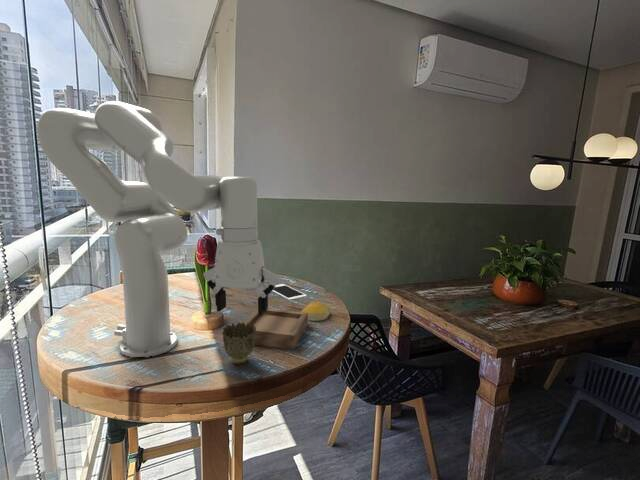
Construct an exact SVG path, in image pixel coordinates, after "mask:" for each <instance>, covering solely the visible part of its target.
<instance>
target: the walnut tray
mask: <svg viewBox="0 0 640 480" xmlns="http://www.w3.org/2000/svg"><path fill="white" fill-rule="evenodd" d="M242 323H245V326H246V324H247V323H249V325H250V326H251V325H252V324H253V325H254V326H255V327H256V334H255V342H254V346H262V347H271V348H278V349H285V350H293V351H294V350H295V349H296V347H297V346H298V345H297V344H298V343H299V341H300V340H301V338H302V336H303V335H304V332H305V331H306V329H307V327H308V325H309V324H308V323H309V320H308V313H304V312H301V311H296V310H295V311H294V310H287V309H286V310H285V309H277V308H269V307H268V309H267V310H266V311H265V312H264V313H263V314H262V315H259V314H258V308H256V309H255V310H254V312H252V313H251V314H249V316H248V317H247V318H246V319H245V320H244V321H243V322H242Z"/></svg>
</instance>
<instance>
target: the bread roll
mask: <svg viewBox="0 0 640 480" xmlns="http://www.w3.org/2000/svg"><path fill="white" fill-rule="evenodd" d="M300 312H304V313H308V321H311V322H312V321H313V322H316V321H317V322H320V321H324V320H326V319H328V317H329V316H330V308H329V307H328V306H327V305H326V304H325V303H324V302H320V301H312V302H310V303H308V304H307V305H306V306H305V307H304V308H302V309H301V311H300Z"/></svg>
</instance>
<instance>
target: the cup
mask: <svg viewBox="0 0 640 480" xmlns="http://www.w3.org/2000/svg"><path fill="white" fill-rule="evenodd" d="M222 330H223V331H222V338H223V344H224V350H225V352H226V354H227V356H229V357H230V361H231V362H232V363H233V364H235V365H243V364H245V363H247V361H248V359H249V355H250V354H252V352H253V349H254V347H255V345H254V342H255V334H256V327H255V326H254V325H253V324H252V325H251V326H250V325H249V323H247V324H246V326H245V323H243V322H241V323H240V322H237V324H234V323H232V324H230V325H229V324H227V325H226V326H225V327H222Z"/></svg>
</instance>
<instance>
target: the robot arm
mask: <svg viewBox="0 0 640 480" xmlns="http://www.w3.org/2000/svg"><path fill="white" fill-rule="evenodd" d="M94 111H95V112H94V113H93V112H92V113H91V112H88V111H82V110H78V109H73V108H68V107H67V108H64V107H58V108H52V109H48V110H45V111H44V112H43V113H41V115H40V117H39V118H38V121H37V124H36V125H37V126H36V128H37V129H36V130H37V137H38V142H39V144H40V147H41V149H42V151H43V153H44V155H45V157H46V158H47V159H48V160H49V162H50V163H51V164H52V165H53V166H54V167H55V168H56V169H57V170H58V171H59V172H60V173H61V174H62V175H63V176H64V177H66V178H65V179H68V180H69V182H70V183H71V184H72V185H73V186H74V188H75V189H76V191H78V193H79V194H80V195H81V196H82V197H83V199H84V200H85V201H86V203H87V204H89V206H90V207H91V208H92V209H93V210H94V212H95V213H96V214H97V215H98V216H99V217H100V218H101V219H103V220H104V221H105V222H108V223H121V224H120V225H119V226H118V227H117V229H116V230H115V233H114V245H115V248H116V252H117V254H118V258H119V262H120V263H119V264H120V266H121V267H120V268H121V277H122V287H123V288H122V290H123V302H124V319H125V324H122V323H120V324H118V325H117V328H116V330H114V332H113V334H114V336H117V337H122V341H121V342H120V344H119V352H120V353H122V354H121V355H123V354H124V355H126V356H125V357H127V356H130V357H129V358H132V357H145V358H151V357H150V356H152V357H156V356H159V355H162V354H164V353H167V352H168V351H170V350H172V349H173V348H174V347H176V345H177V344H178V336H177V334H176V333H174V332H173V331H171V323H170V322H171V319H170V295H169V276H168V275H169V274H168V270H167V268H166V265H165V263H164V262H163V260H162V257H161V255H163V254H165V253H166V254H167V253H169V252H172V251H175V250H178V249H180V248H181V247H182V246H184V245H185V243H186V242H187V240H188V229H187V225H186V224H185V223H186V222H184V220H183V218H182V217H181V216H180V214H179V213H178V212H177V211H176V210H175V209H174V208H176V209H178V210H179V211H182V212H186V213H198V212H199V213H200V212H205V211H212V210H213V211H214V210H220V225H221V226H220V228H216V230H215V233H216V236H220V239H221V240H219V241H217V245H216V249H215V250H216V251H215V257H214V259H215V260H214V262H215V263H214V267H213V268H210V269H208V270H206V271H204V272H203V277H204V279H205V281H206V284H207V285H208V287H209V288H210V289H211V290H212V294H214V301H215V306H216V311H217V312H221V311H222V310H224V309H225V308H227V291H226V289H234V290H247V291H248V290H249V291H253V290H255V291H256V293H257V294H258V295H259V297H258V298H257V309H258V314H259V315H262V314H263V313H264V312H265V311H266V310H267V309H268V308H269V297H268V296H269V294H270V293H271V292H273V291H272V290H273V289H274V288H275V287H276V285H278V283H279V281H280V276H279V275H277V274H276V273H274V272H272V271H271V270H269V269H268V268H266V267H265V259H264V252H263V251H264V250H263V248H262V243H261V241H260V240H259V239H258V237H259V236H258V235H259V233H258V188H257V187H258V185H257V181H256V179H255V178H254V177H251V176H238V175H237V176H220V175H213V174H197V173H195V174H191V173H190V172H188V171H187V170H185V169H184V168H183V167H182V166H180V165H179V164H178V163H177V162H175V161H174V159H172V155H173V153H174V143H173V141H172V139H171V138H170V137H169V136H168V135H166V134H165V133H164V132H162V124H161V121H160V120H159V118H158V117H157V115H155V113H153V112H152V111H151V110H149V109H146V108H143V107H140V106H137V105H133V104H129V103H126V102H123V101H116V100H111V101H109V100H108V101H105V102H104V103H102V104H99V106H97V108H96V109H95V110H94ZM91 151H101V152H118V151H123V152H124V153H126V155H128V156H129V157H130V158H132V159H133V160H134V161H135V162H137V163H138V164H139V165H141V167H142V168H141V169H142V172H143V175H144V177H145V180H146V182H147V183H146V182H142V181H126V180H123V179H121V178H120V177H119V176H118V175H117V174H116V173H115V172H114V171H113V170H112V169H111V167H110V165H108V164H107V163H106V162H105V161H104V160H103V159H101V158H100V157H98V156H97V155H96V154H94V153H93V152H91ZM173 207H174V208H173ZM266 279H268V280H269V281H270V283H269V285H268V286H267V285H266V284H265V281H266ZM224 288H225V289H224ZM124 355H123V356H124Z"/></svg>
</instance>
